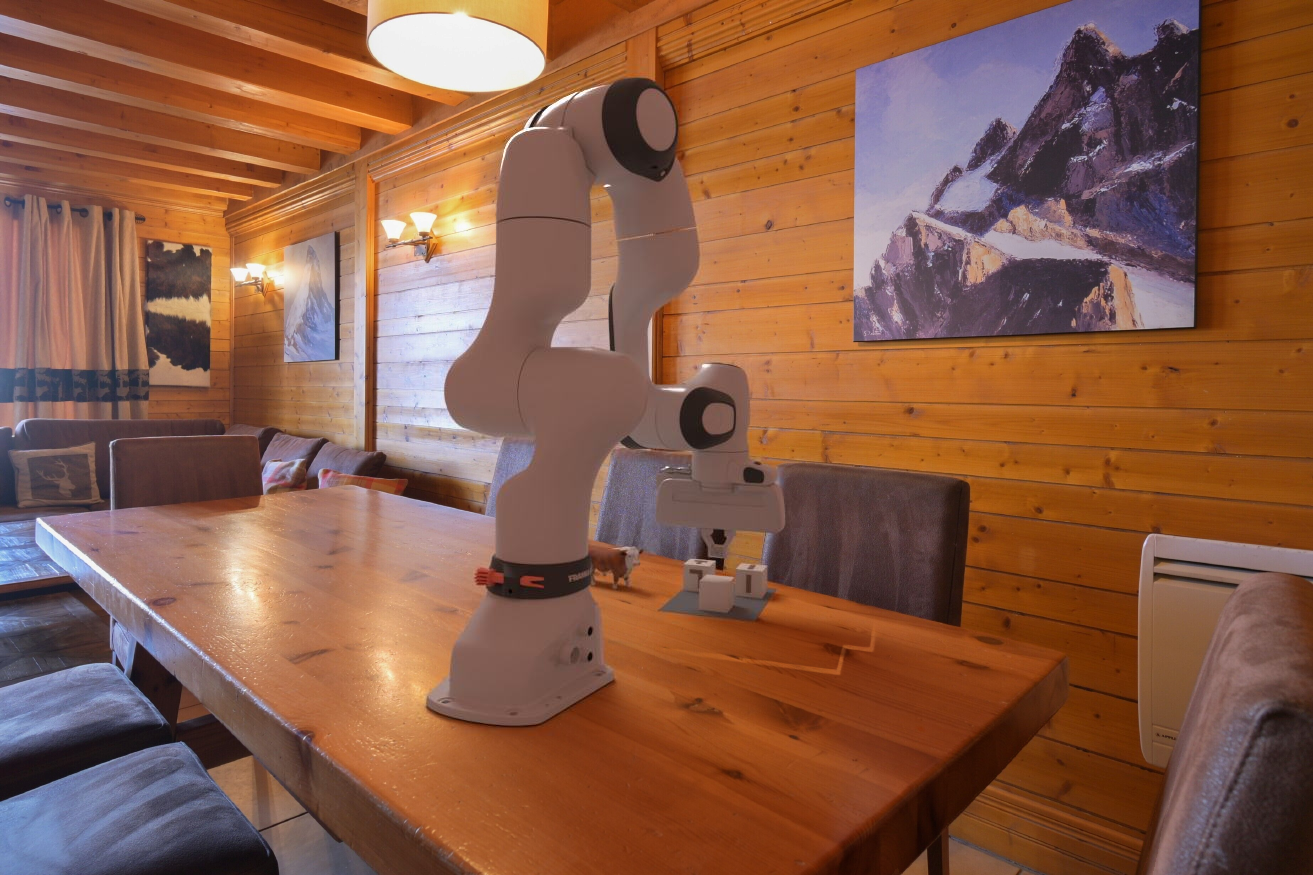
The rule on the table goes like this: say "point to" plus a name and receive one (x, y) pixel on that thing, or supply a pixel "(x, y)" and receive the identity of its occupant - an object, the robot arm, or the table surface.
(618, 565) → the bull figurine
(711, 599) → the plain block
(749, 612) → the mat
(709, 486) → the robot arm
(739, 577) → the digit block 1
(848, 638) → the table surface
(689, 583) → the digit block 7
